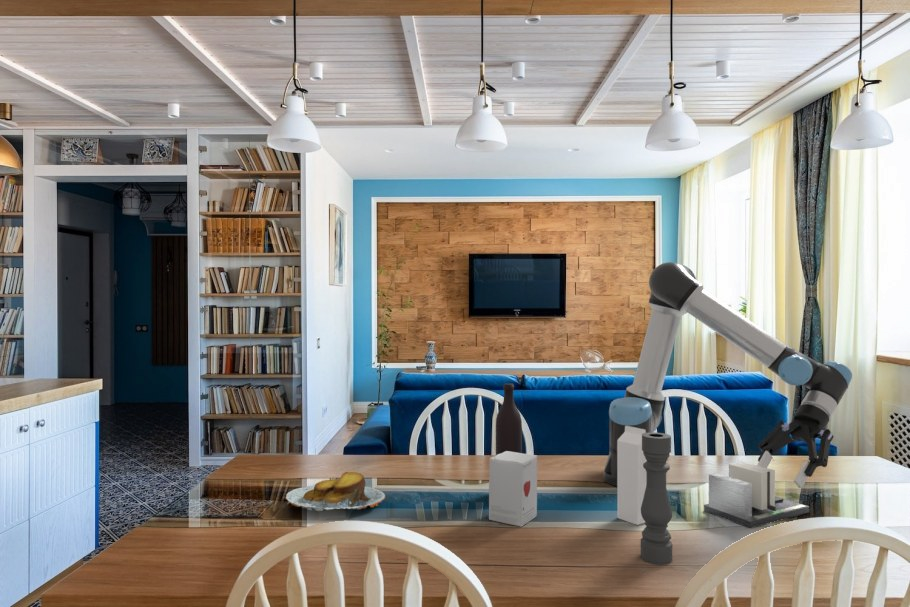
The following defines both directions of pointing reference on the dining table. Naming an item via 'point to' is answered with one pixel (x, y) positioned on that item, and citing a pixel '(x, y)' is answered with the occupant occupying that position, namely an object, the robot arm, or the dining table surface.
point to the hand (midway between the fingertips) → (777, 479)
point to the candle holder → (656, 500)
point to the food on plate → (336, 494)
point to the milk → (630, 475)
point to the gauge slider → (756, 483)
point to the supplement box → (513, 488)
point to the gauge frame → (745, 503)
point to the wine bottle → (508, 424)
